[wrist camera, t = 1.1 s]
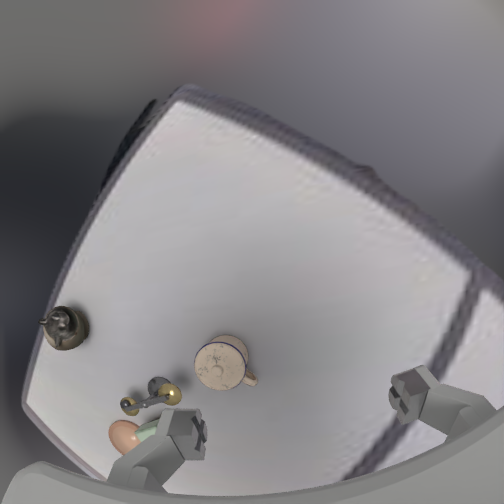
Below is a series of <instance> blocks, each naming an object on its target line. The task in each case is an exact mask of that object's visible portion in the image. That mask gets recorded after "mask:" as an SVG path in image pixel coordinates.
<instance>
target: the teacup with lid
mask: <svg viewBox="0 0 504 504" xmlns="http://www.w3.org/2000/svg"><path fill="white" fill-rule="evenodd" d="M247 362H248V351H247V349H246V346H245V345H244V344H243V342H242V341H240V340H239V339H238V338H236V337H233V336H230V335H222V336H218V337H216V338H214V339H213V340H212V341H211V342H209V343H208V344H206V345H205V346H203V347H202V348H201V349H200V350H199V351H198V353H197V354H196V357H195V361H194V368H195V372H196V374H197V376H198V378H199V380H200V381H201V382H202V383H203V384H204V385H206V386H207V387H209V388H211V389H214V390H229V389H232V388H234V387H236V386H237V385H239V384H240V383H241V381H242V382H244V383H246V384H247V385H250V386H255V385H256V384H257V383H258V379H257V377H256V376H255V375H254V374H253V373H252V372H251V371H249V370H248V369H246V365H247ZM245 375H246V376H245Z"/></svg>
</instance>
